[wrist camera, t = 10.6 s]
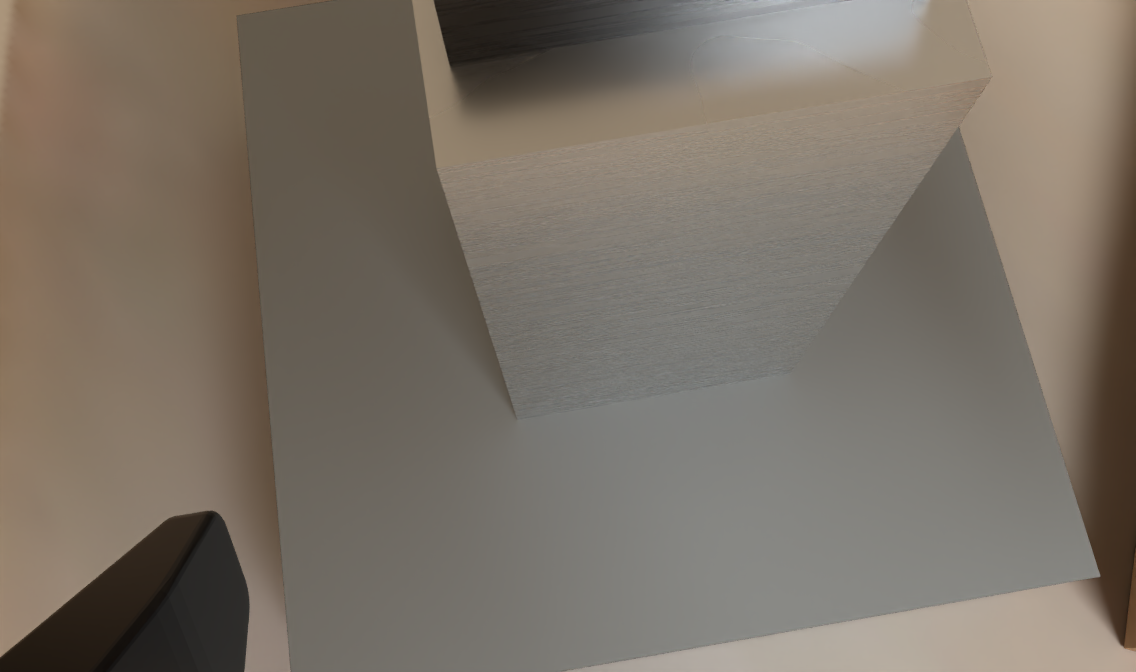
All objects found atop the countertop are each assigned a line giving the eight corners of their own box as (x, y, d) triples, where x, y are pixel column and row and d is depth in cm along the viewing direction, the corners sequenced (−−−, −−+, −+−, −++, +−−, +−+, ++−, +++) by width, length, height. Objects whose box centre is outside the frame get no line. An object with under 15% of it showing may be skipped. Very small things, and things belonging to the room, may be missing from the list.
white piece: (790, 373, 15) (1038, 9, 7) (517, 420, 15) (418, 111, 7) (731, 129, 16) (877, -441, 8) (477, 171, 16) (351, -360, 8)
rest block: (1015, 591, 17) (1100, 576, 14) (346, 707, 17) (294, 718, 14) (848, 18, 20) (890, -88, 17) (288, 108, 20) (237, 15, 17)
